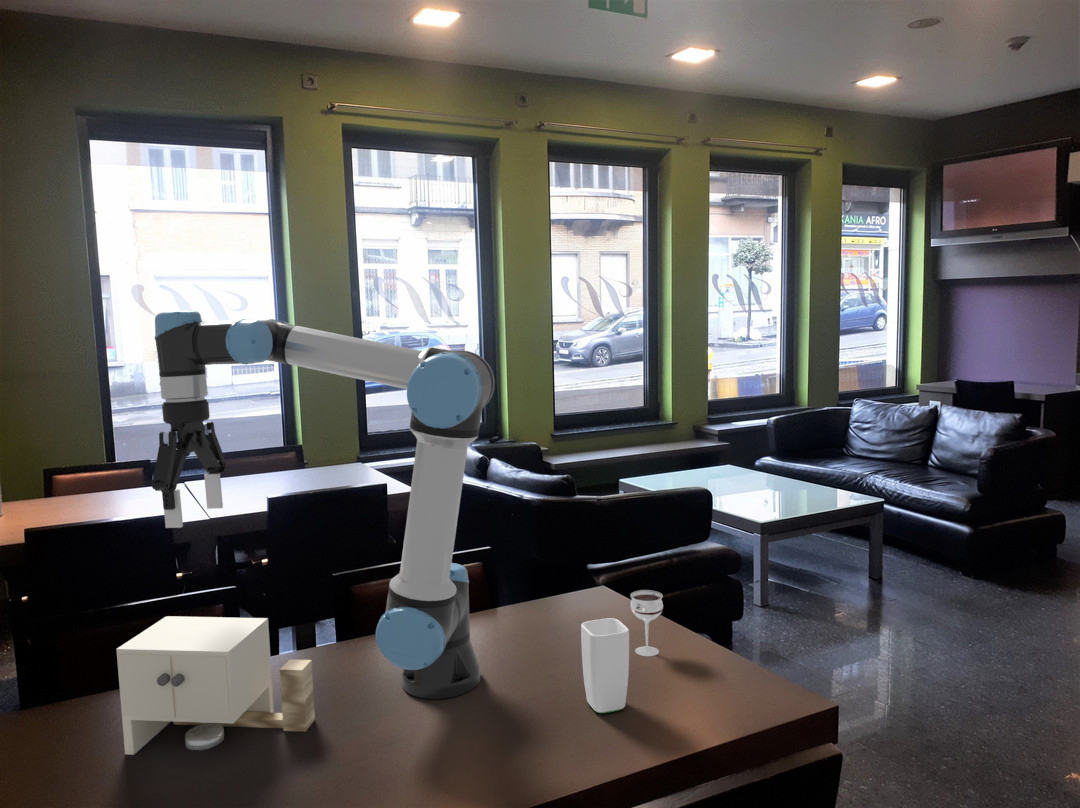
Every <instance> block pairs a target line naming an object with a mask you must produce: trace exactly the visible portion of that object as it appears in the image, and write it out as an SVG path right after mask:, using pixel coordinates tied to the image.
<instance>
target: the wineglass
mask: <svg viewBox="0 0 1080 808" xmlns="http://www.w3.org/2000/svg"><path fill="white" fill-rule="evenodd" d="M662 598H664V597H663V594H662V593H661V592H659V591H655V590H651V589H650V590H649V589H640V590H636V591H635V590H634V591H633V592H631V593H630V599H631V600H630V605H629V606H630V610H631V613H632V614H633V615H634V616H635V617H636V618H637V619H639V620H642V621H643V623H644V634H645V645H644V646H638V647H637V648H635V650H634V653H636V654H637V655H639V656H642V657H653V656H657V655H659V654H660V651H659V649H658V648H657V647H653V646H649V625H650V624H649V623H650V622H651V621H653V620H655V619H657V618H658V617H659V616H660V615H661V614H662V613H663V609H664V604H663V600H662Z"/></svg>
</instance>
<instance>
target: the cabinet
mask: <svg viewBox="0 0 1080 808" xmlns="http://www.w3.org/2000/svg"><path fill="white" fill-rule="evenodd" d="M269 630H270V629H269V618H268V617H225V616H224V617H223V616H219V617H218V616H180V615H179V616H175V615H174V616H171V615H170V616H169V615H168V616H167V615H166V616H164V617H163V618H161V619H160V620H158V621H157V622H155V623H154V624H152V625H151V626H149V627H148V628H146V629H144V630H143V631H142V632H140V633H139V634H137V635H136V636H134V637H132V638H131V639H129V640H128V641H126V642H125V643H123V644H122V645H120V646H118V647H117V648H116V649H115V650H116V658H117V659H116V660H117V670H118V671H117V672H118V674H117V675H118V682H119V683H118V684H119V696H120V698H119V699H120V707H121V709H120V710H121V719H122V720H121V721H122V732H123V744H124V745H123V746H124V755H127V756H128V755H129V756H130V755H131V756H134V755H135V754H137V753H138V752H139V751H140V750H141V749H142V748H143V747H144V746H145V745H147V744H148V743H149V742H150V741H151V740H152V739H153V738H155V736H157V735H158V734H160V732H161V731H162V730H163V729H165V728H166V727H167V726H168V725H169V724H170V723H171V722H173V721H174V722H203V723H231V724H233V723H234V722H235V721H236V720H237V719H238V718H239V717H240V716H241V715H242V714H243V713H244V712H270V713H275V712H274V709H275V708H274V697H273V696H274V693H273V679H272V678H273V677H272V676H273V675H272V661H271V646H270V645H271V643H270V631H269Z"/></svg>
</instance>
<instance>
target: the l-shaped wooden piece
mask: <svg viewBox="0 0 1080 808" xmlns="http://www.w3.org/2000/svg"><path fill="white" fill-rule="evenodd" d="M279 680H280V693H281V695H280V696H281V711H282V712H274V713H270V712H244V713H243V714H242V715H241V716H240V717H239V718H238V719H237V720H236V721H235V722H234V723H233V724H231V723H218V724H221V725H222V726H223V727H233V728H234V727H235V728H237V727H238V728H239V727H241V728H265V729H267V728H268V729H282V731H284V732H307V731H308V729H310V727H311V726H312V725H313V723H314V722H315V720H316V717H315V715H316V714H315V699H314V698H315V696H314V694H315V693H314V681H313V660H312V659H288V660H287V661H286V663H284V664H283V665H282V667H281V668H280V669H279ZM172 722H173V725H178V726H179V725H182V726H183V725H184V726H198V725H202V724H207V723H203V722H174V721H172Z"/></svg>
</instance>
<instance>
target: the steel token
mask: <svg viewBox="0 0 1080 808" xmlns="http://www.w3.org/2000/svg"><path fill="white" fill-rule="evenodd" d="M224 730H225V729H224V726H222V725H221V724H218V723H207V724H202V725H195V726H194V727H192V728H189V730H188V731H186V732H185V734H184V743H185V748H187V749H188V750H189V751H194V750H196V751H195V752H197V750H199V751H206V750H209V749H211V748H214V746H215V747H216V746H218V745H220V744H221V743H222V742H223V741H224V739H225V731H224ZM205 749H206V750H205Z"/></svg>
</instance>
